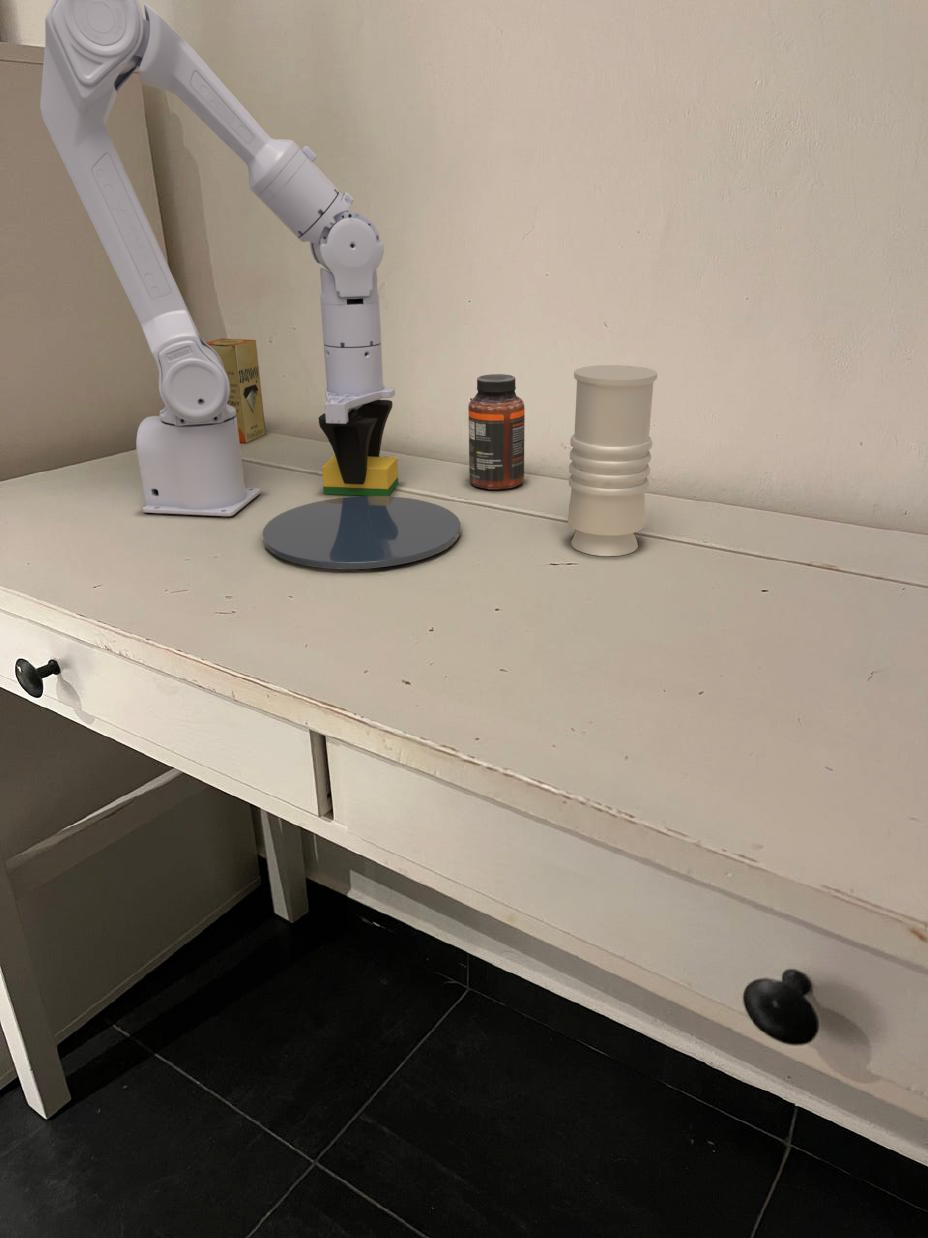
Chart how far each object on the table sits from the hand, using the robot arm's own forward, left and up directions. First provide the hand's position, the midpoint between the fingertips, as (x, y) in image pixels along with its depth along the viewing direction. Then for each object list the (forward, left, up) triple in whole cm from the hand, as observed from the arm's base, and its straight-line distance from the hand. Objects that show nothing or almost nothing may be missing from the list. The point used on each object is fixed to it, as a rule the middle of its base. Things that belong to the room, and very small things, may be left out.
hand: (360, 476), depth 94 cm
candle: (+26, -13, -2) cm, 29 cm away
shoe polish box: (-22, +20, -2) cm, 30 cm away
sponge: (0, 0, -1) cm, 1 cm away
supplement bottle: (+14, +4, -2) cm, 15 cm away
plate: (+4, -14, -1) cm, 15 cm away
